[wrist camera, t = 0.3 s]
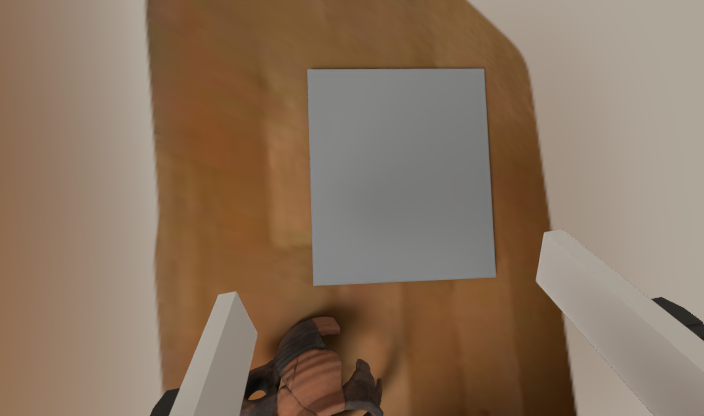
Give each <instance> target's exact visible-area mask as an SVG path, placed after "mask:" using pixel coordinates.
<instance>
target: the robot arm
mask: <svg viewBox="0 0 704 416" xmlns="http://www.w3.org/2000/svg"><path fill="white" fill-rule="evenodd" d="M536 282H537V283H538V284H539V285H540V287H541V288H542V289H543V290H544V291H545V292H546V293H547V294H548V296H549V297H550V298H551V299H552V300H553V301H554V302H555V304H556V305H557V306H558V307H559V308H560V309H561V310H562V312H563V313H564V314H565V315H566V316H567V317H568V318H569V319H570V321H571V322H572V323H573V324H574V325H575V326H576V327H577V328H578V330H579V331H580V332H581V333H582V334H583V335H584V337H585V338H586V339H587V340H588V341H589V342H590V343H591V345H592V346H593V347H594V348H595V349H596V350H597V351H598V352H599V354H600V355H601V356H602V357H603V358H604V359H605V360H606V362H607V363H608V364H609V365H610V366H611V367H612V368H613V370H614V371H615V372H616V373H617V374H618V375H619V376H620V378H621V379H622V380H623V381H624V382H625V383H626V384H627V386H628V387H629V388H630V389H631V390H632V391H633V392H634V393H635V395H636V396H637V397H638V398H639V399H640V400H641V401H642V403H643V404H644V405H645V406H646V407H647V408H648V409H649V411H651V413H652V414H653V415H654V416H704V324H703V322H702V321H701V320H699V319H698V318H696V317H695V316H694V315H693V314H691V313H690V312H688V311H687V310H686V309H684V308H683V307H681V306H679V305H676V304H675V303H673V302H670V301H668V300H666V299H664V298H662V297H659V298H654V299H650V298H649V297H648V296H646V295H645V294H644V293H642V292H641V291H640V290H639V289H637V288H636V287H635V286H634V285H632V284H631V283H630V282H628V281H627V280H626V279H625V278H624V277H622V276H621V275H620V274H618V273H617V272H616V271H615V270H613V269H612V268H611V267H610V266H608V265H607V264H606V263H605V262H603V261H602V260H601V259H600V258H598V257H597V256H596V255H595V254H593V253H592V252H591V251H590V250H588V249H587V248H586V247H584V246H583V245H582V244H580V243H579V242H578V241H577V240H576V239H574V238H573V237H572V236H571V235H569V234H568V233H567V232H566V231H564V230H563V229H560V230H554V231H549V232H544V236H543V242H542V248H541V254H540V259H539V265H538V271H537V277H536ZM257 334H258V333H257V331H256V329H255V327H254V326H253V324H252V322H251V320H250V318H249V316H248V314H247V312H246V310H245V308H244V306H243V304H242V302H241V300H240V298H239V296H238V294H237V292H231V293H226V294H220V295H218V298H217V300H216V302H215V305H214V307H213V310H212V312H211V315H210V317H209V319H208V322H207V324H206V327H205V329H204V332H203V334H202V336H201V339H200V341H199V344H198V346H197V349H196V351H195V353H194V356H193V358H192V361H191V363H190V366H189V368H188V371H187V373H186V375H185V378H184V380H183V383H182V385H181V388H178V389H173V390H168V391H166V392H165V394H164V395H163V396H162V398H161V399H160V400H159V402H158V403H157V404H156V405H155V407H154V408H153V410H152V412H151V415H150V416H239V415H240V410H241V406H242V401H243V397H244V392H245V388H246V383H247V379H248V375H249V370H250V366H251V361H252V357H253V352H254V348H255V343H256V339H257Z"/></svg>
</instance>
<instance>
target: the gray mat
mask: <svg viewBox="0 0 704 416" xmlns="http://www.w3.org/2000/svg"><path fill="white" fill-rule="evenodd" d="M307 74H308V110H309V145H310V180H311V215H312V250H313V285H314V286H321V285H342V284H363V283H384V282H405V281H427V280H448V279H469V278H490V277H496V268H495V250H494V233H493V215H492V198H491V180H490V163H489V145H488V128H487V110H486V93H485V75H484V69H307Z"/></svg>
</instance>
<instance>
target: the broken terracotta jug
mask: <svg viewBox="0 0 704 416" xmlns="http://www.w3.org/2000/svg"><path fill="white" fill-rule="evenodd" d="M340 332H341V329H340V326H339V325H338V324H337V322H336V321H335V319H334V318H333V317H327V316H325V317H317V318H313V319H309V320H306V321H304V322H301V323H299V324H297V325H296V326H295V327H293V328H291V329H290V330H289V331H288V332H287V333H286V335H285V336H284V337H283V339H282V341H281V342H280V345H279V348H278V351H277V353H276V356H275V357H274V360H271V361H270V362H269V363H267V364H266V365H263V366H261V367H258V368H255V369H253V370H251V371H249V375H248V379H247V383H246V388H245V392H244V397H243V401H242V406H241V410H240V415H239V416H331V415H333V414H336V413H338V412H341V411H344V410H353V409H362V410H366V411H368V412H367V413H366V414H364V416H383V411H382V410H381V409H380V407H379V406H380V403H381V396H382V379H381V378H379V379H378V380H377V385H376V388H375V382H374V378H373V376H372V374H371V372H370V366H369V365H368V364H367V363H366V362H365V361H363V360H362V359H358V360H357V362H356V371H355V372H354V373H353V375H352V377H351V378H350V380H349V381H348V382H347V383H346V384H345V385H344V386H342V380H343V379H342V359H341V358H340V356H339V355H338V354H337V353H336V352H335V351H331V350H327V349H326V345H325V344H324V342H323V341H322V339H321V337H320V336H325V335H339V334H340ZM281 378H282V380H283V382H284V383H285V385H284V386H283V387H281V388H280V389H279V386H280V380H281ZM258 390H263V391H264V392H265V393H266V395H265V396H263V397H261V398H259V399H256V400H248V399H249V397H250V396H251V395H252V394H253V393H254V392H256V391H258ZM278 390H279V391H278Z"/></svg>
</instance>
